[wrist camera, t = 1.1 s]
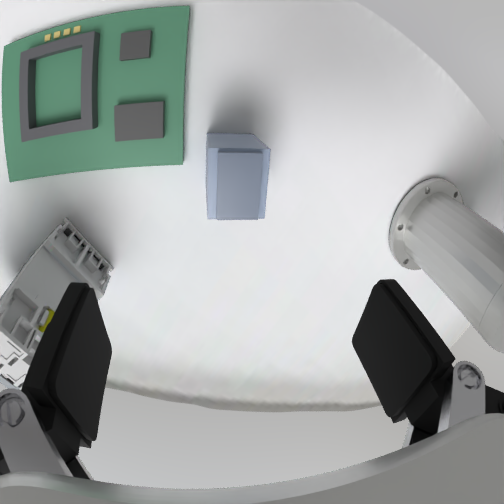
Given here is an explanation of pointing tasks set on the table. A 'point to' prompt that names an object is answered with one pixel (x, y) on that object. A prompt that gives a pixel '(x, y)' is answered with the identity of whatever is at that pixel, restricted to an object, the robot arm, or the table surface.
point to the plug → (236, 176)
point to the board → (96, 94)
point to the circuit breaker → (43, 296)
